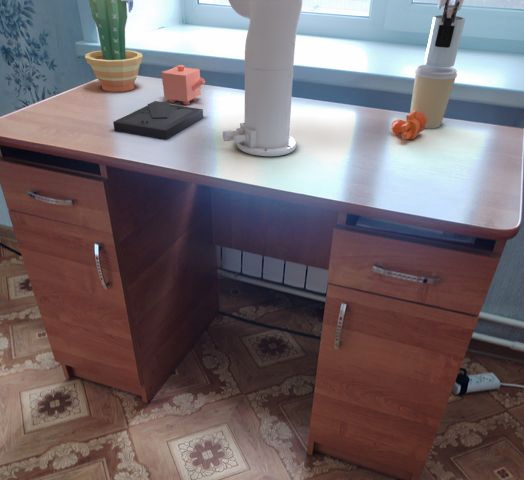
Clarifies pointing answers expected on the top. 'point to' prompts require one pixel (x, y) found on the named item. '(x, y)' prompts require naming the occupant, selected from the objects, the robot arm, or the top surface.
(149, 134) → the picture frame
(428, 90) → the coffee cup
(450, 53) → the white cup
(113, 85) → the potted cactus
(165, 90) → the pink cube teapot
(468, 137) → the top surface
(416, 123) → the orange lumpy piece
